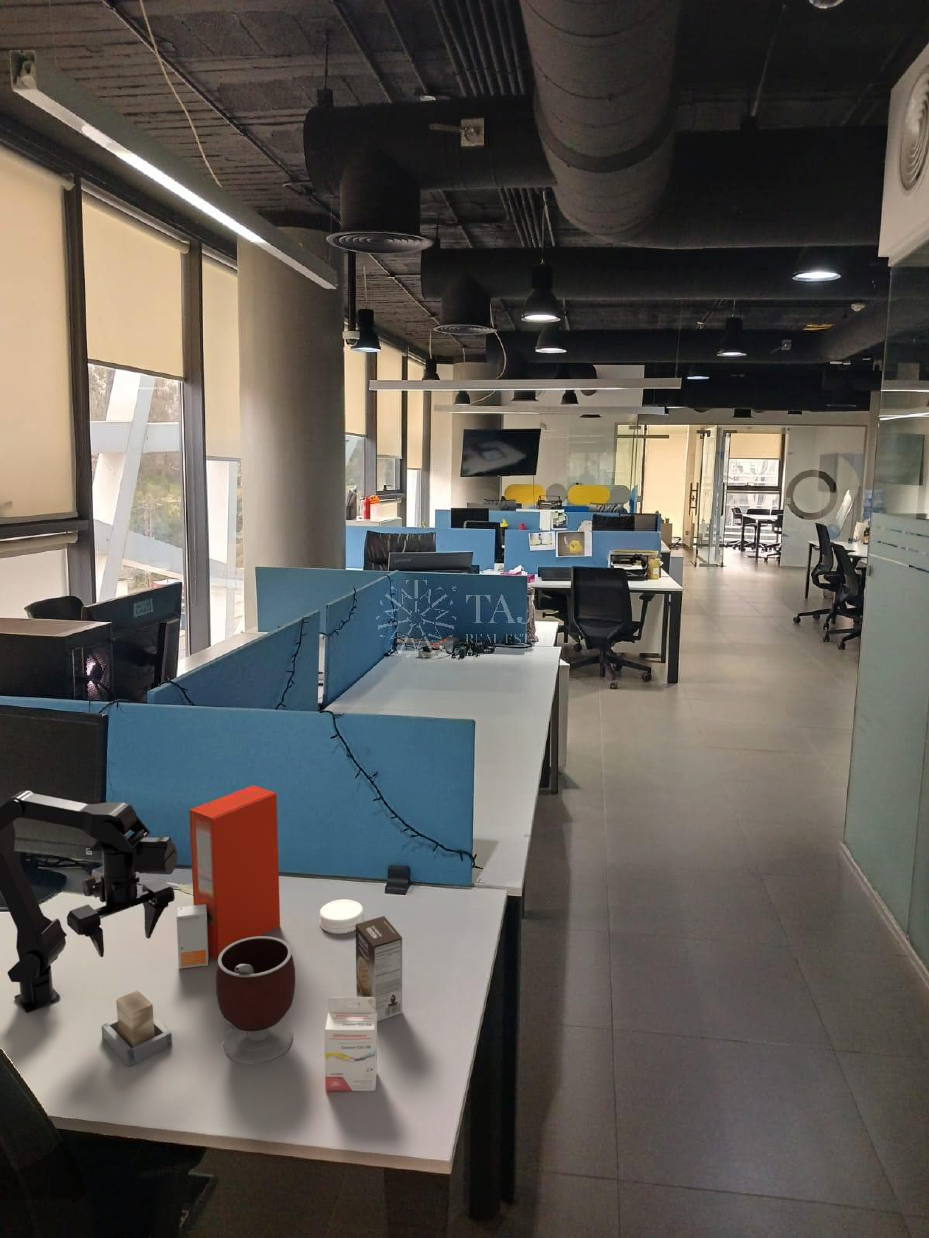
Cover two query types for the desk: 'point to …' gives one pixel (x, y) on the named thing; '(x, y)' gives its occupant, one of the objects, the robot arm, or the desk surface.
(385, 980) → the coffee box
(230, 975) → the mate gourd
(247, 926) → the file binder
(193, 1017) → the desk surface
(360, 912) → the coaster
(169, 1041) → the collar
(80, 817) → the robot arm
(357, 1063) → the ink cartridge box
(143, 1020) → the block
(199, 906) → the skincare box
